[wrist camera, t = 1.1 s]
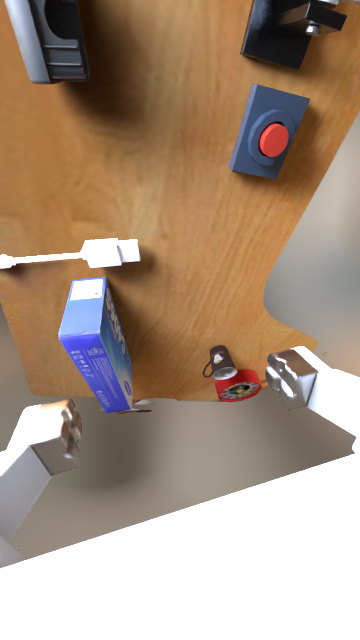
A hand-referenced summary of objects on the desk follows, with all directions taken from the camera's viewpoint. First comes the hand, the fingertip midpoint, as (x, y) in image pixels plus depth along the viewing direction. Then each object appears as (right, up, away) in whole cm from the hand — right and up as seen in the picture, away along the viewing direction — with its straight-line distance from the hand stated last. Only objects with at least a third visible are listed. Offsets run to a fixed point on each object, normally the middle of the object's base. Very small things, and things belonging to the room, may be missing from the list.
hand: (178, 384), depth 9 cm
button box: (+14, +35, +30) cm, 48 cm away
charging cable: (-25, +18, +42) cm, 52 cm away
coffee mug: (+13, -9, +78) cm, 80 cm away
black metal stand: (+14, +43, +20) cm, 50 cm away
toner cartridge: (-22, 0, +61) cm, 65 cm away
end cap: (-16, +40, +19) cm, 47 cm away
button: (+15, +32, +28) cm, 45 cm away
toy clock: (+27, -26, +99) cm, 106 cm away
